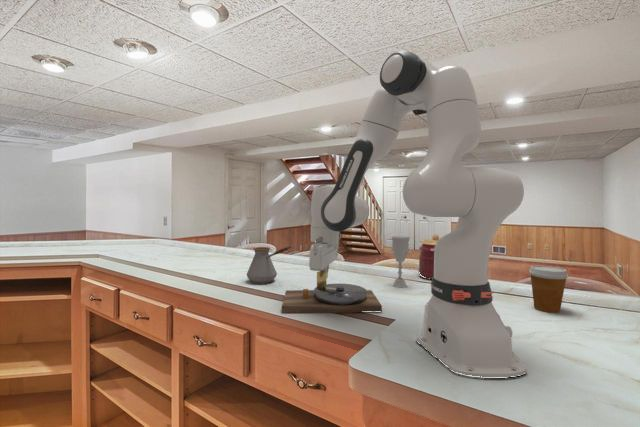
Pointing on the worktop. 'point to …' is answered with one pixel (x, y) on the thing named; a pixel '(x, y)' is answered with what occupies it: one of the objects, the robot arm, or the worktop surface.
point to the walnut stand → (308, 304)
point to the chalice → (400, 255)
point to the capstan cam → (338, 292)
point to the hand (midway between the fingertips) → (324, 278)
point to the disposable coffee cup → (548, 287)
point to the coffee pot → (263, 265)
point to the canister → (427, 257)
